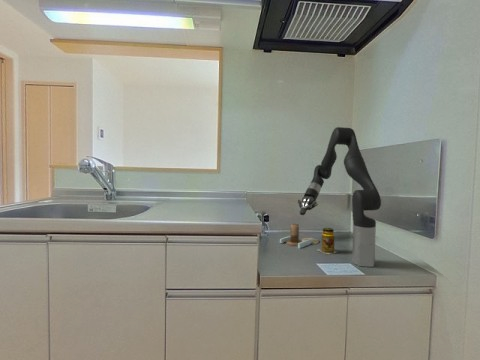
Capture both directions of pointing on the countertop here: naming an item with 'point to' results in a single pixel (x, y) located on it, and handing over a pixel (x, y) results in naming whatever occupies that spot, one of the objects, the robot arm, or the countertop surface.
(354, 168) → the robot arm
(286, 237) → the pale blue rack
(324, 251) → the condiment
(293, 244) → the wooden peg stand
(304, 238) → the coaster
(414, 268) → the countertop surface
